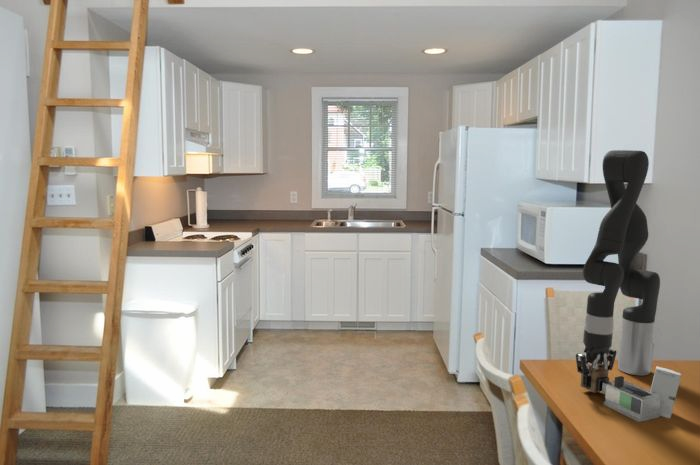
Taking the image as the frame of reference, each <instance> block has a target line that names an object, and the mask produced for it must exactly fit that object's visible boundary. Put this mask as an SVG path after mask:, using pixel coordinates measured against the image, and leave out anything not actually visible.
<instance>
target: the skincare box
mask: <svg viewBox="0 0 700 465" xmlns="http://www.w3.org/2000/svg"><path fill="white" fill-rule="evenodd" d="M681 378H682V373H681V372H678V371H675V370H672V369H669V368H664V367H661V366H658V365H656V367H655V371H654V374H653V377H652V383H651V386H650V390H649V391H650V392H653V393H655V394H658V395H660V406H659V413H660V417H662V418H666V419H671V417H672V414H673V409H674V406H675V403H676V402H675V401H676V397H677V393H678V390H679V386H680V384H681Z"/></svg>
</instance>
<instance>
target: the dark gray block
mask: <svg viewBox="0 0 700 465" xmlns="http://www.w3.org/2000/svg"><path fill="white" fill-rule="evenodd" d="M624 380H625V376H622V375H620V376H615V377H614V381H615V383H614V387H617V388H618V387H623V384H624Z"/></svg>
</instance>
